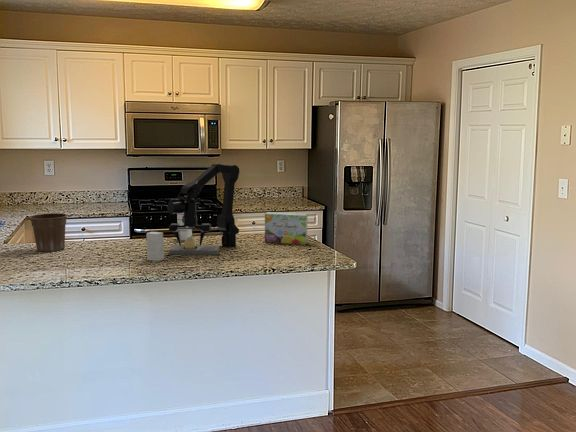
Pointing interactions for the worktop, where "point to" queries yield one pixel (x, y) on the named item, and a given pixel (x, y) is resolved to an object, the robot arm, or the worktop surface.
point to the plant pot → (49, 231)
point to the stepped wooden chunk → (190, 243)
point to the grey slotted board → (195, 250)
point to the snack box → (286, 228)
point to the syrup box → (183, 232)
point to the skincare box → (155, 246)
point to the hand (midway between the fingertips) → (190, 245)
